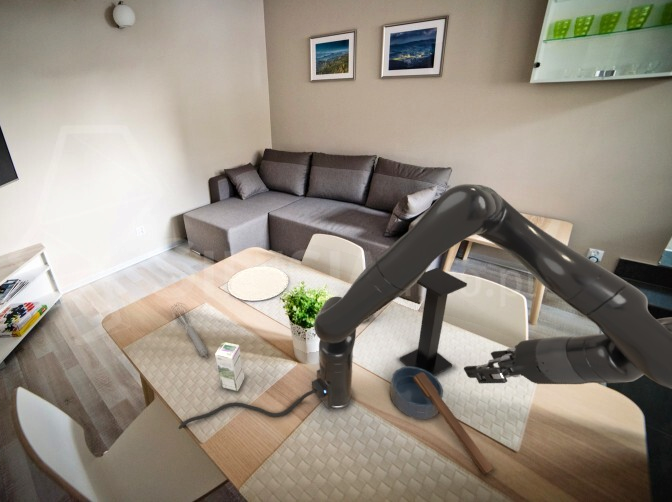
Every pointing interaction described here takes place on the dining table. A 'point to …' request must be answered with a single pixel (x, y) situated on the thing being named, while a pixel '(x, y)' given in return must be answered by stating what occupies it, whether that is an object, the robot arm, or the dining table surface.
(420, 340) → the stand
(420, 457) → the dining table surface
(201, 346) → the kitchen whisk
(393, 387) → the bowl
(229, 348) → the syrup box
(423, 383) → the stirring paddle
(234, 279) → the plate
